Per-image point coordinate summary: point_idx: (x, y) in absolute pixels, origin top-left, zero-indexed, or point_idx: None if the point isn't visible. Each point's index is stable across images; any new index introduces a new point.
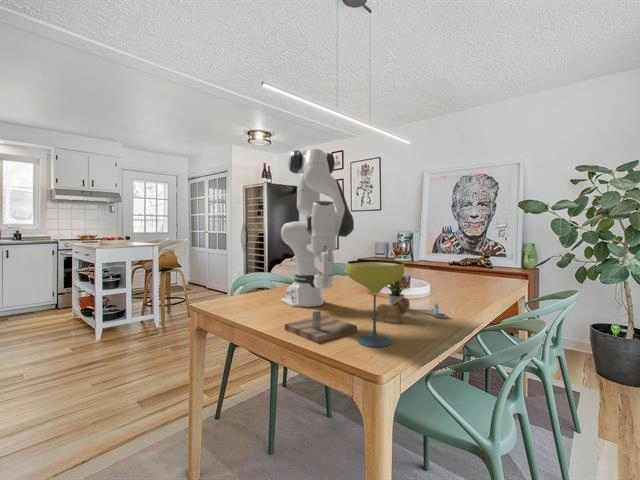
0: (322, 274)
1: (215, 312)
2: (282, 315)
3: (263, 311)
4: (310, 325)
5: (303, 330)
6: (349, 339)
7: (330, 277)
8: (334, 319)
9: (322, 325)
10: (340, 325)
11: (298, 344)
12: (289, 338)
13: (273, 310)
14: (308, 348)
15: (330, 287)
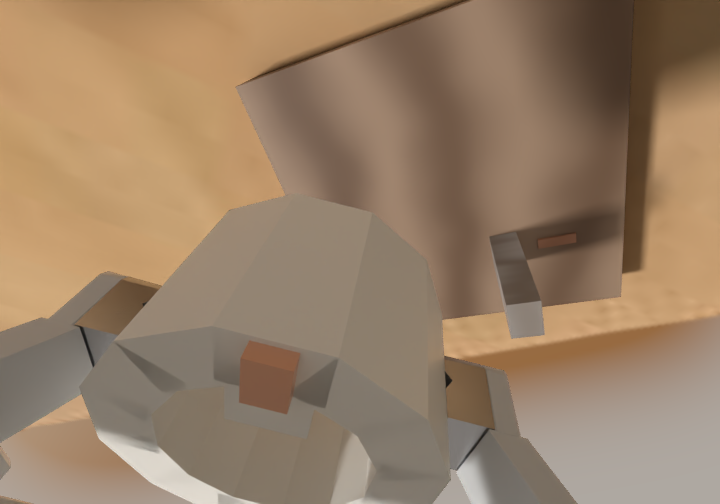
0: (114, 417)
1: (79, 410)
2: (120, 249)
3: (49, 294)
4: (429, 251)
5: (489, 307)
6: (704, 102)
7: (432, 410)
8: (372, 55)
9: (464, 196)
10: (534, 86)
11: (563, 334)
12: (474, 335)
13: (24, 255)
14: (635, 324)
15: (428, 270)
